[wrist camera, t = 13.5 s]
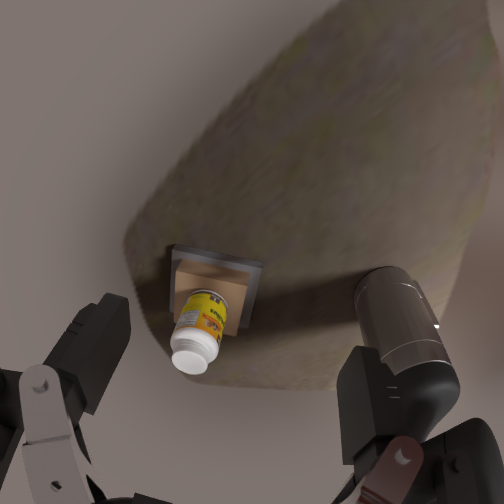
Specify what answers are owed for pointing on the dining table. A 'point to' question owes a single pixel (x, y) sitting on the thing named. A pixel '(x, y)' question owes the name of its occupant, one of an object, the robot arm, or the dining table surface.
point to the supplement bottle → (199, 331)
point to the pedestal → (215, 282)
